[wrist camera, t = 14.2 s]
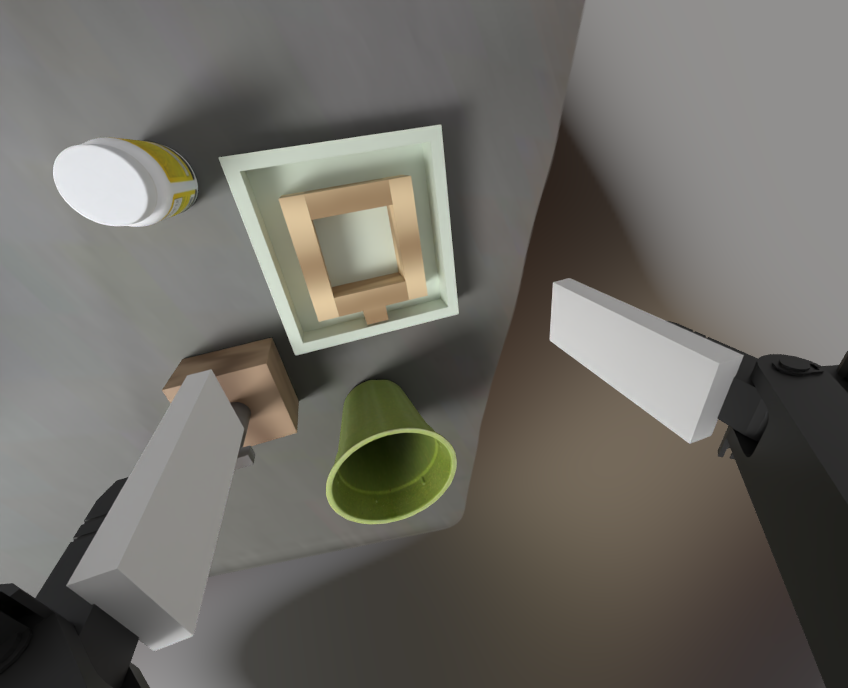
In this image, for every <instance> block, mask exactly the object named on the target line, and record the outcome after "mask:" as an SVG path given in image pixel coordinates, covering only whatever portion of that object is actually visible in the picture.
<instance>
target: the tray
mask: <svg viewBox="0 0 848 688" xmlns="http://www.w3.org/2000/svg"><path fill="white" fill-rule="evenodd" d="M218 158H219V161H220V163H221V166H222V169H223V171H224V174H225V176H226V179H227V181H228V184H229V187H230V189H231V192H232V194H233V197H234V199H235V202H236V205H237V207H238V210H239V212H240V215H241V217H242V220H243V223H244V225H245V228H246V230H247V233H248V235H249V238H250V241H251V243H252V246H253V248H254V251H255V253H256V256H257V259H258V261H259V264H260V266H261V269H262V271H263V274H264V277H265V279H266V282H267V284H268V287H269V289H270V292H271V295H272V297H273V300H274V302H275V305H276V307H277V310H278V313H279V315H280V318H281V320H282V323H283V325H284V328H285V331H286V333H287V336H288V338H289V341H290V343H291V346H292V348H293V351H294V354H295V356H296V355H300V354H304V353H308V352H312V351H316V350H320V349H324V348H328V347H332V346H335V345H339V344H343V343H347V342H351V341H355V340H359V339H363V338H367V337H371V336H374V335H378V334H382V333H386V332H390V331H394V330H398V329H402V328H406V327H410V326H413V325H417V324H421V323H425V322H429V321H433V320H437V319H441V318H445V317H449V316H452V315H456V314H459V311H458V300H457V289H456V278H455V268H454V257H453V246H452V235H451V224H450V213H449V203H448V192H447V181H446V170H445V159H444V149H443V138H442V127H441V125H434V126H428V127H421V128H414V129H407V130H400V131H394V132H387V133H380V134H373V135H367V136H360V137H353V138H346V139H339V140H333V141H326V142H319V143H312V144H306V145H299V146H292V147H285V148H278V149H272V150H265V151H258V152H251V153H245V154H238V155H231V156H224V157H218ZM398 175H409V176H411V179H412V186H413V193H414V200H415V207H416V215H417V222H418V229H419V236H420V243H421V250H422V258H423V265H424V272H425V279H426V286H427V293H428V296H424V297H420V298H416V299H411V300H407V301H403V302H399V303H395V304H391V305H387V306H386V310H387V314H388V319H389V320H385V321H381V322H377V323H373V324H369V325H367V322H366V320H365V317H364V314H363V311H362V312H358V313H353V314H349V315H345V316H341V317H337V318H333V319H329V320H324V321H320V322H319V321H318V318H317V315H316V312H315V309H314V306H313V303H312V300H311V297H310V294H309V291H308V288H307V285H306V282H305V279H304V276H303V273H302V269H301V266H300V263H299V260H298V257H297V254H296V251H295V248H294V245H293V242H292V239H291V236H290V233H289V230H288V227H287V224H286V221H285V218H284V215H283V212H282V208H281V205H280V202H279V198H280V197H281V195H287V194H293V193H299V192H305V191H310V190H316V189H322V188H328V187H334V186H339V185H345V184H351V183H357V182H363V181H369V180H374V179H380V178H386V177H392V176H398ZM313 223H314V226H315V230H316V233H317V237H318V240H319V244H320V247H321V251H322V254H323V258H324V261H325V265H326V268H327V271H328V275H329V278H330V282H331V285H332V287H335V286H339V285H344V284H348V283H352V282H357V281H361V280H366V279H370V278H375V277H379V276H384V275H388V274H392V273H397V272H398V266H397V261H396V255H395V250H394V244H393V238H392V233H391V227H390V222H389V216H388V211H387V206H383V207H378V208H373V209H367V210H362V211H357V212H351V213H346V214H341V215H335V216H330V217H325V218H319V219H314V220H313Z"/></svg>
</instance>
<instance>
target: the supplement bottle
mask: <svg viewBox="0 0 848 688" xmlns="http://www.w3.org/2000/svg"><path fill="white" fill-rule="evenodd" d="M53 177H54V181H55V184H56V187H57V189H58V191H59V193H60V194H61V196H62V197H63V199H64V200H65V201H66V202H67V203H68V204H69V205H70V206H71V207H72V208H73V209H74V210H75V211H77V212H78V213H79V214H81V215H82V216H84V217H86V218H88V219H90V220H92V221H94V222H97V223H100V224H104V225H108V226H134V227H139V226H148V225H152V224H155V223H157V222H160V221H162V220H165V219H167V218H170V217H172V216H175V215H177V214H179V213H182V212H184V211H186V210H187V209H189V208H190V207H191V206H192V205H193V204H194V202H195V200H196V198H197V194H198V183H197V179H196V176H195V174H194V172H193V170H192V168H191V166H190V165H189V163H188V162H187V161H186V160H185V159H184V158H183V157H182V156H181V155H180V154H178V153H177V152H176V151H174V150H173V149H171V148H169V147H167V146H165V145H162V144H159V143H154V142H149V141H139V140H129V139H120V138H111V137H102V138H95V139H92V140H89V141H86V142H85V143H83V144H78V145H74V146H70V147H68V148H66V149H65V150H63V151H62V152H61V153H60V154H59V155H58V156H57V158H56V160H55V162H54V166H53Z"/></svg>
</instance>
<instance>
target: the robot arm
mask: <svg viewBox="0 0 848 688" xmlns="http://www.w3.org/2000/svg"><path fill="white" fill-rule="evenodd" d="M550 341H551V342H553V343H554V344H555V345H557V346H558V347H559V348H561V349H562V350H564V351H565V352H566V353H568V354H569V355H570V356H572V357H573V358H575V359H576V360H577V361H578V362H580V363H581V364H582V365H584V366H585V367H587V368H588V369H589V370H591V371H592V372H593V373H595V374H596V375H597V376H599V377H600V378H601V379H603V380H604V381H605V382H607V383H608V384H610V385H611V386H612V387H614V388H615V389H616V390H618V391H619V392H620V393H622V394H623V395H625V396H626V397H627V398H629V399H630V400H631V401H633V402H634V403H635V404H637V405H638V406H640V407H641V408H642V409H644V410H645V411H646V412H648V413H649V414H650V415H652V416H653V417H654V418H656V419H657V420H658V421H660V422H661V423H662V424H664V425H665V426H666V427H668V428H669V429H671V430H672V431H673V432H675V433H676V434H677V435H679V436H680V437H682V438H683V439H684V440H686V441H687V442H688V443H693V442H695V441H698V440H701V439H703V438H706V437H709V436H711V435H712V432H713V430H714V427H715V425H716V422H717V420H718V419H719V420H721V421H722V422H724V423H726V424H727V425H729V426H728V428H727V431H726V433H725V435H724V438H723V440H722V442H721V445H720V447H719V449H718V456H719V457H723V456H724V453H725V451H726V449H728V448H731V450H732V454H731V456H730V458H731V459H735V460H736V463H737V466H738V468H739V470H740V473H741V476H742V478H743V480H744V483H745V486H746V488H747V491H748V493H749V496H750V498H751V501H752V503H753V505H754V508H755V511H756V513H757V516H758V518H759V521H760V523H761V525H762V528H763V530H764V533H765V536H766V538H767V541H768V543H769V545H770V548H771V551H772V553H773V556H774V558H775V561H776V563H777V566H778V568H779V571H780V573H781V576H782V579H783V581H784V584H785V586H786V588H787V591H788V593H789V596H790V599H791V601H792V604H793V606H794V609H795V611H796V614H797V616H798V618H799V621H800V624H801V626H802V629H803V631H804V633H805V636H806V639H807V641H808V644H809V646H810V649H811V651H812V654H813V656H814V659H815V661H816V664H817V666H818V669H819V671H820V674H821V676H822V679H823V681H824V684H825V686H826V688H848V351H847V353H846V354H845V356H844V358H843V359H842V361H841V363H840V364H839V365H834V366H820V365H818V364H816V363H813V362H811V361H809V360H805V359H802V358H799V357H795V356H788V355H781V354H773V355H771V354H770V355H765V356H762V357H760V358H759V359H757V358H755V357H753V356H751V355H748V354H746V353H744V352H742V351H739V350H737V349H735V348H732V347H730V346H728V345H725V344H723V343H721V342H719V341H716V340H714V339H711V338H709V337H708V338H706V336H705V335H702V334H700V333H698V332H693V330H691V329H689V328H686V327H684V326H682V325H679V324H677V323H674V322H670V321H665V320H663V319H661V318H658V317H656V316H654V315H652V314H649V313H647V312H645V311H642V310H640V309H638V308H636V307H633V306H631V305H629V304H627V303H624V302H622V301H620V300H617V299H615V298H613V297H611V296H609V295H606V294H604V293H602V292H599V291H597V290H595V289H593V288H591V287H588V286H586V285H584V284H581V283H579V282H577V281H575V280H572V279H570V278H568V279H564V280H560V281H556V282H553V294H552V310H551V326H550ZM243 432H244V427H243V426H242V424H241V422H240V420H239V418H238V416H237V415H236V413H235V411H234V409H233V407H232V406H231V404H230V402H229V400H228V398H227V396H226V395H225V393H224V391H223V389H222V387H221V386H220V384H219V382H218V380H217V378H216V376H215V375H214V373H213V371H212V369H211V370H207V371H203V372H199V373H195V374H191V375H187V376H186V378H185V380H184V382H183V383H182V385H181V387H180V389H179V390H178V392H177V394H176V396H175V397H174V399H173V401H172V403H171V404H170V406H169V408H168V410H167V411H166V413H165V415H164V416H163V418H162V420H161V422H160V423H159V425H158V427H157V429H156V430H155V432H154V434H153V436H152V437H151V439H150V441H149V443H148V444H147V446H146V448H145V450H144V451H143V453H142V455H141V456H140V458H139V460H138V462H137V463H136V465H135V467H134V469H133V470H132V472H131V474H130V476H129V477H127V478H124V479H120V480H117V481H116V482H115V483H114V484H113V485H112V486H111V487H110V488H109V489H108V490H107V491H106V492H105V493H104V494H103V495H102V496H101V497H100V498H99V499H98V500H97V501H96V503H95V504H94V506H93V507H92V509H91V511H90V512H89V514H88V515H87V517H86V519H85V520H84V522H85V523H84V524H83V525H81V526H80V528H79V530H78V531H77V533H76V534H75V536H74V538H73V539H74V541H73V542H71V543H70V544H69V546H68V547H67V549H66V550H65V552H64V553H63V555H62V557H61V558H60V560H59V561H58V563H57V565H56V566H55V568H54V569H53V571H52V573H51V574H50V576H49V577H48V579H47V580H46V582H45V584H44V585H43V587H42V588H41V590H40V592H39V593H38V595H37V596H36V598H34V597H32V596H31V595H29V594H28V593H26V592H25V591H23V590H22V589H20V588H19V587H17V586H16V585H14V584H13V583H11V584H0V688H150V687H149V685H148V684H147V682H146V680H145V678H144V677H143V675H142V673H141V671H140V670H139V668H138V667H136V666H135V665H134V664H132V663H131V659H132V656H133V653H134V651H135V648H136V645H137V642H138V640H140V641H141V642H142V643H144V644H145V645H146V646H148V647H149V648H151V649H152V650H153V651H156V650H159V649H161V648H164V647H166V646H169V645H171V644H174V643H177V642H179V641H182V640H184V639H187V638H190V637H192V636H194V632H195V628H196V624H197V620H198V616H199V612H200V608H201V603H202V599H203V596H204V591H205V587H206V583H207V579H208V575H209V571H210V567H211V563H212V559H213V555H214V551H215V546H216V542H217V538H218V534H219V530H220V526H221V522H222V518H223V514H224V510H225V506H226V501H227V497H228V493H229V489H230V485H231V481H232V477H233V473H234V469H235V465H236V461H237V456H238V452H239V448H240V444H241V440H242V436H243Z"/></svg>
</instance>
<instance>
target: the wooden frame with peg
mask: <svg viewBox="0 0 848 688" xmlns="http://www.w3.org/2000/svg"><path fill="white" fill-rule="evenodd" d="M279 202H280V205H281V208H282V212H283V215H284V218H285V221H286V224H287V227H288V230H289V233H290V236H291V239H292V242H293V245H294V248H295V251H296V254H297V257H298V260H299V263H300V266H301V269H302V273H303V276H304V279H305V282H306V285H307V288H308V291H309V294H310V297H311V300H312V303H313V306H314V309H315V312H316V315H317V318H318V321H319V322H320V321H324V320H329V319H333V318H337V317H341V316H345V315H349V314H353V313H358V312H362V311H363V314H364V317H365V320H366V322H367V325H369V324H373V323H377V322H381V321H385V320H389V319H388V314H387V310H386V306H387V305H391V304H395V303H399V302H403V301H407V300H411V299H416V298H420V297H424V296H428V293H427V286H426V279H425V272H424V265H423V258H422V250H421V243H420V236H419V229H418V222H417V215H416V207H415V200H414V193H413V186H412V179H411V176H409V175H398V176H392V177H386V178H380V179H374V180H369V181H363V182H357V183H351V184H345V185H339V186H334V187H328V188H322V189H316V190H310V191H305V192H299V193H293V194H287V195H281V197H280V198H279ZM383 206H387V211H388V216H389V222H390V227H391V233H392V238H393V244H394V250H395V255H396V261H397V266H398V272H397V273H392V274H388V275H384V276H379V277H375V278H370V279H366V280H361V281H357V282H352V283H348V284H344V285H339V286H335V287H332V285H331V282H330V278H329V275H328V271H327V268H326V265H325V261H324V258H323V254H322V251H321V247H320V244H319V240H318V237H317V233H316V230H315V226H314V223H313V220H314V219H319V218H325V217H330V216H335V215H341V214H346V213H351V212H357V211H362V210H367V209H373V208H378V207H383Z"/></svg>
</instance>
